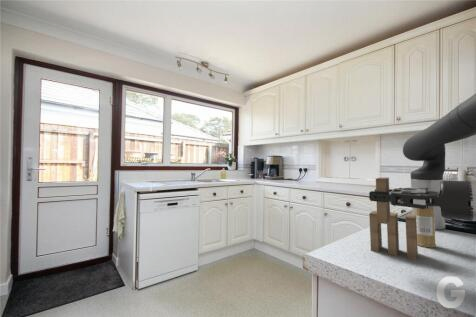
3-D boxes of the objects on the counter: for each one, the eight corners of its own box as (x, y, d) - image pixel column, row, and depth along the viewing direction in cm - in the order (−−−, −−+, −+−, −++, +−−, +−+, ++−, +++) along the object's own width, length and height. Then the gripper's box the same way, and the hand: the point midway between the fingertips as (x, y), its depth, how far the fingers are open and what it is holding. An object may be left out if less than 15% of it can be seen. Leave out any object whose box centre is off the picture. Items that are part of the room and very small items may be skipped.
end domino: (374, 245, 67) (373, 210, 67) (382, 246, 65) (380, 211, 66) (370, 250, 63) (369, 213, 63) (378, 251, 62) (376, 214, 62)
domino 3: (409, 251, 61) (407, 213, 62) (417, 253, 60) (416, 214, 60) (407, 257, 58) (405, 217, 58) (416, 259, 56) (414, 218, 57)
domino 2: (391, 248, 64) (389, 212, 64) (399, 249, 63) (397, 212, 63) (388, 253, 60) (386, 215, 60) (396, 255, 59) (394, 216, 59)
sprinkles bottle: (438, 245, 65) (436, 197, 66) (432, 249, 63) (430, 199, 63) (419, 241, 69) (417, 196, 69) (412, 244, 66) (410, 197, 67)
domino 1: (381, 218, 56) (380, 177, 56) (390, 219, 55) (388, 177, 55) (377, 222, 53) (375, 178, 53) (386, 224, 51) (384, 179, 52)
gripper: (469, 178, 50) (377, 176, 61) (476, 184, 39) (364, 181, 50) (470, 213, 49) (378, 205, 61) (478, 229, 39) (365, 215, 50)
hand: (372, 194), depth 55 cm, fingers closed on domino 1, 5 cm apart
